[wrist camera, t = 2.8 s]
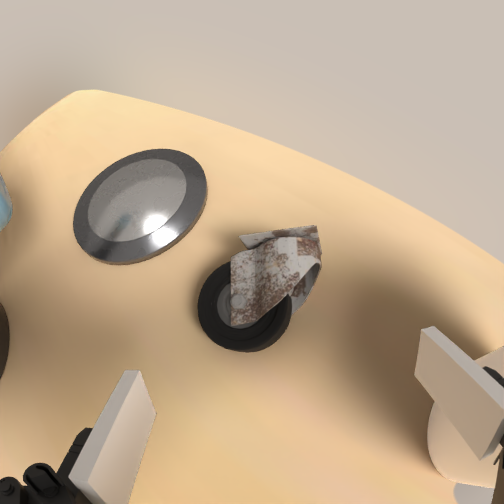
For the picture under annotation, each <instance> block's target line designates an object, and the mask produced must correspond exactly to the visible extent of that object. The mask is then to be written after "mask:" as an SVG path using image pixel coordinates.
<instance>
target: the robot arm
mask: <svg viewBox="0 0 504 504" xmlns="http://www.w3.org/2000/svg"><path fill="white" fill-rule="evenodd" d="M12 210H13V209H12V202H11V198H10V195H9V192H8V190H7V187H6V185H5V183H4V180H3V178H2V175H1V173H0V232H1V231H2V230H3V228H4V227H5V226H6V225H7V224H8V223H9V221H10V219H11V216H12ZM8 347H9V326H8V320H7V316H6V313H5V310H4V308H3V307H2V305H1V304H0V378H1V376H2V373H3V370H4V367H5V364H6V360H7V354H8ZM414 376H415V377H416V378H417V379H418V381H419V382H420V383H421V384H422V386H423V387H424V388H425V389H426V391H427V392H428V393H429V394H430V396H431V397H432V398H433V400H434V401H435V402H436V403H437V405H438V406H439V407H440V409H441V410H442V411H443V412H444V414H445V415H446V416H447V418H448V419H449V420H450V422H451V423H452V424H453V426H454V427H455V428H456V429H457V431H458V432H459V433H460V435H461V436H462V437H463V439H464V440H465V442H466V443H467V444H468V446H469V447H470V448H471V450H472V451H473V452H474V454H475V455H476V457H477V458H478V459H479V461H481V460H483V459H484V458H486V457H488V456H489V455H491V454H493V453H494V451H495V450H496V448H497V446H498V444H499V443H500V445H501V446H502V447H503V448H502V450H501V451H500V453H499V455H498V456H497V458H496V459H495V461H494V464H493V465H496V463H497V462H498V460H499V466H498V472H497V478H496V484H495V490H494V494H493V499H492V503H491V504H504V378H503V377H502V376H501V375H500V374H499V373H498V372H497V371H496V370H494V369H491V368H489V367H487V366H485V367H483V368H481V367H480V366H479V365H478V364H477V363H476V362H475V361H474V360H473V359H471V358H470V357H469V356H468V355H467V354H466V353H465V352H463V351H462V350H461V349H460V348H459V347H458V346H457V345H455V344H454V343H453V342H452V341H451V340H450V339H449V338H447V337H446V336H445V335H444V334H443V333H442V332H440V331H439V330H438V329H437V328H436V327H434V326H431V327H428V328H424V329H421V334H420V341H419V349H418V355H417V362H416V368H415V373H414ZM156 414H157V413H156V411H155V408H154V406H153V404H152V401H151V398H150V396H149V393H148V391H147V388H146V386H145V383H144V380H143V377H142V375H141V372H140V370H125V371H124V373H123V375H122V377H121V378H120V380H119V382H118V384H117V385H116V387H115V389H114V391H113V393H112V394H111V396H110V398H109V400H108V402H107V403H106V405H105V407H104V409H103V411H102V413H101V414H100V416H99V418H98V420H97V422H96V424H95V426H94V428H85V429H84V430H82V431H81V432H80V433H79V434H78V435H77V436H76V438H75V440H74V442H73V445H71V447H70V449H69V453H67V455H66V456H65V458H64V460H63V462H62V464H61V466H60V468H59V469H58V471H57V473H55V471H54V470H53V469H52V468H51V467H50V466H49V465H47V464H45V463H35V464H33V465H31V466H29V467H28V468H27V469H26V470H25V472H24V475H23V481H24V482H25V483H26V484H27V485H28V486H22V485H21V484H20V482H19V481H18V480H17V479H15V478H13V477H5V478H2V479H1V480H0V504H128V503H129V499H130V496H131V492H132V489H133V486H134V482H135V479H136V476H137V473H138V469H139V466H140V463H141V460H142V457H143V454H144V450H145V447H146V444H147V441H148V438H149V435H150V432H151V429H152V426H153V423H154V420H155V417H156Z"/></svg>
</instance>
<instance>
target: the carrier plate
mask: <svg viewBox="0 0 504 504" xmlns="http://www.w3.org/2000/svg"><path fill="white" fill-rule="evenodd" d="M207 194H208V187H207V181H206V177H205V174H204V171H203V169H202V167H201V166H200V164H199V163H198V162H197V161H196V160H195V159H194V158H192V157H191V156H189V155H187V154H185V153H183V152H180V151H176V150H171V149H152V150H146V151H142V152H138V153H135V154H132V155H129V156H127V157H125V158H122V159H120V160H119V161H117V162H115V163H113V164H112V165H110V166H109V167H107V168H106V169H105V170H104V171H102V172H101V173H100V174H99V175H98V176H97V177H96V178H95V179H94V180H93V181H92V182H91V183H90V184H89V185H88V187H87V188H86V189H85V191H84V192H83V194H82V196H81V198H80V200H79V202H78V204H77V207H76V209H75V214H74V221H73V227H74V233H75V237H76V239H77V241H78V243H79V245H80V246H81V247H82V249H83V250H84V251H85V252H86V253H87V254H88V255H89V256H90V257H92V258H94V259H95V260H97V261H100V262H102V263H106V264H110V265H129V264H135V263H139V262H142V261H146V260H149V259H151V258H153V257H155V256H158V255H160V254H161V253H163V252H165V251H167V250H168V249H170V248H171V247H173V246H174V245H175V244H177V243H178V242H179V241H180V240H181V239H182V238H184V237H185V236H186V235H187V234H188V232H189V231H190V230H191V229H192V228H193V227H194V225H195V224H196V223H197V221H198V220H199V218H200V216H201V214H202V212H203V210H204V207H205V205H206V200H207Z"/></svg>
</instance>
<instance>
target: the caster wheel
mask: <svg viewBox="0 0 504 504" xmlns="http://www.w3.org/2000/svg"><path fill="white" fill-rule="evenodd" d="M239 238H240V239H241V241H242V242H243V243H244V245H245V246H246V247H247V249H248V250H245V251H242V252H239V253H237V254H235V255H234V256H232V257H231V261H230V262H228V263H226V264H224V265H222V266H220V267H219V268H217V269H216V270H215V271H214V272H213V273H212V274H211V275H210V276H209V277H208V278H207V280H206V281H205V283H204V285H203V287H202V289H201V292H200V295H199V299H198V317H199V320H200V323H201V326H202V328H203V330H204V331H205V333H206V334H207V336H208V337H209V338H210V339H211V340H212V341H214V342H215V343H216V344H218V345H220V346H222V347H224V348H226V349H230V350H234V351H239V352H256V351H260V350H263V349H265V348H267V347H269V346H271V345H272V344H273V343H275V342H276V341H277V340H278V339H279V338H280V337H281V336H282V335H283V333H284V332H285V330H286V329H287V327H288V324H289V322H290V318H291V315H292V314H294V313H295V312H296V311H297V310H298V309H299V308H300V307H301V306H302V305H303V303H304V302H305V300H306V299H307V298H308V296H309V294H310V292H311V290H312V288H313V286H314V284H315V282H316V280H317V277H318V275H319V272H320V270H321V256H320V255H321V254H322V251H321V246H320V241H319V236H318V231H317V226H314V225H312V226H304V227H297V228H290V229H282V230H275V231H268V232H261V233H254V234H247V235H241V236H239Z"/></svg>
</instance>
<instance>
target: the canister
mask: <svg viewBox="0 0 504 504" xmlns="http://www.w3.org/2000/svg"><path fill="white" fill-rule="evenodd" d="M474 361H475V362H476V363H477V364H478V365H479V366H480V367H481V368H483V367H485V366H487V367H489V368H491V369H494V370H496V371H497V372H498V373H499V374H500V375H501V376H502V377H503V378H504V346H502V347H500V348H498V349H497V350H495V351H493V352H491V353H489V354H486V355H484V356H482V357H480V358H478V359H476V360H474ZM427 443H428V450H429V454H430V458H431V460H432V463H433V465H434V466H435V468H436V469H437V471H438V472H439V473H440V474H441V475H442V476H444V477H445V478H447V479H448V480H451V481H454V482H458V483H464V484H470V485H476V486H482V487H489V488H495V484H496V478H497V472H498V466H499V460H498V462H497V463H496V465H493V464H494V461H495V459H496V458H497V456H498V455H499V453H500V451H501V450H502V448H503V447H502V446H501V445H500V443H499V444H498V446H497V448H496V450H495V451H494V453H493V454H491V455H489V456H488V457H486V458H484V459H483V460H481V461H479V459H478V458H477V457H476V455H475V454H474V452H473V451H472V450H471V448H470V447H469V446H468V444H467V443H466V442H465V440H464V439H463V437H462V436H461V435H460V433H459V432H458V431H457V429H456V428H455V427H454V426H453V424H452V423H451V422H450V420H449V419H448V418H447V416H446V415H445V414H444V412H443V411H442V410H441V409H440V407H439V406H438V405H437V403H436V402H435V401H434V404H433V406H432V409H431V413H430V417H429V422H428V430H427Z"/></svg>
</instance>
